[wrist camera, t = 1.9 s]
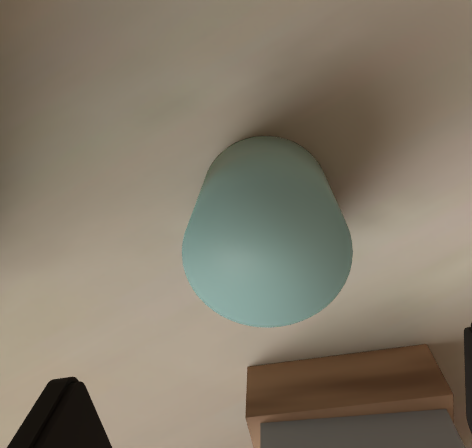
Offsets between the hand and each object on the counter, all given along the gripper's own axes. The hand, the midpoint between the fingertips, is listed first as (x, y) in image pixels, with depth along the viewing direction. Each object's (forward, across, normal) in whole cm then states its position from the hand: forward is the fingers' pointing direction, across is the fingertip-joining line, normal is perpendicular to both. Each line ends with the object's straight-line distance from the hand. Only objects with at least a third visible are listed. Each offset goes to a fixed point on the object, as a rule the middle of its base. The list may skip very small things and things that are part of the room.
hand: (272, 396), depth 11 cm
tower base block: (+12, -2, +14) cm, 19 cm away
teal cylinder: (+12, 0, -1) cm, 12 cm away
